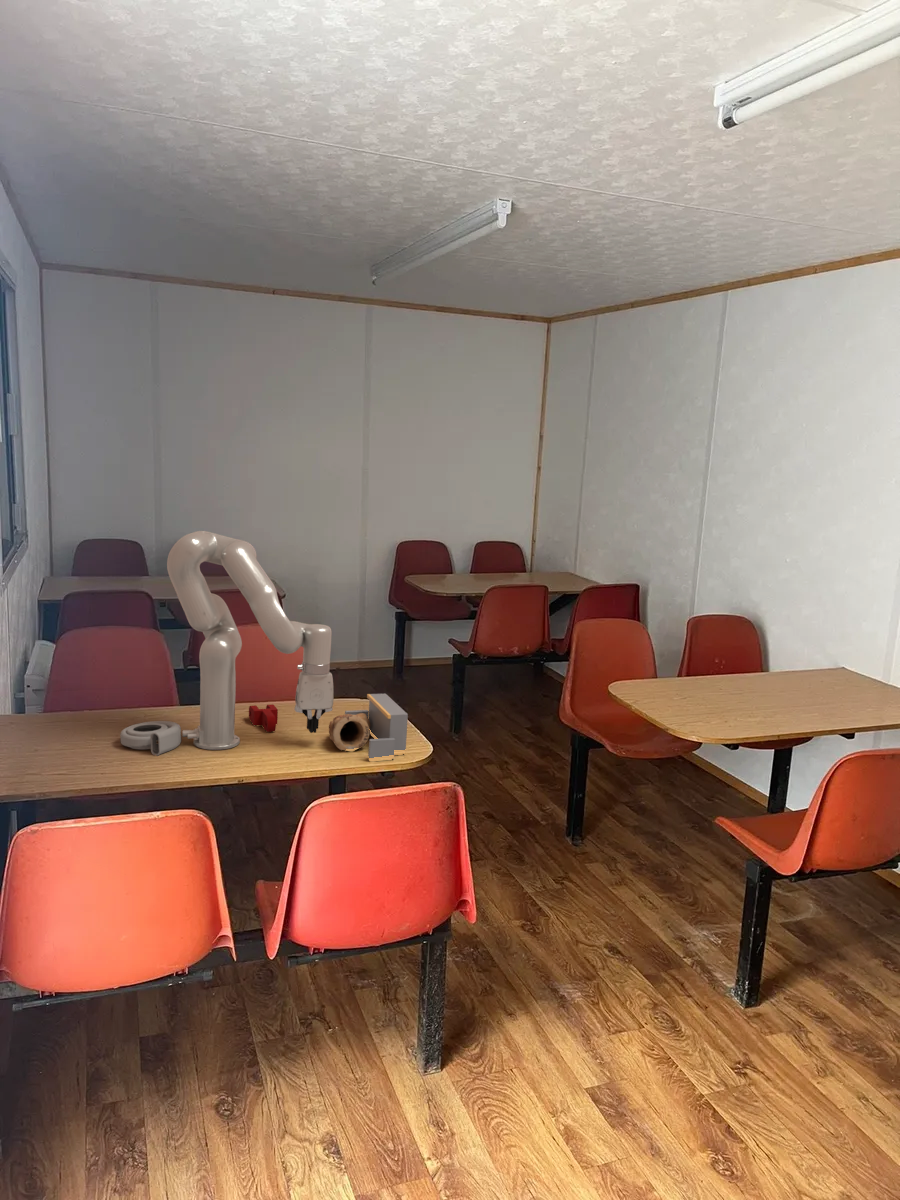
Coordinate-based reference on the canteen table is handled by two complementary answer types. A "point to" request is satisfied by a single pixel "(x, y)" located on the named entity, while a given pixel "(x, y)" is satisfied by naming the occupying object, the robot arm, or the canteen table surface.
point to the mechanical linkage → (264, 717)
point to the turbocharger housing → (152, 736)
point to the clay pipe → (349, 731)
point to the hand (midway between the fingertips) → (312, 731)
